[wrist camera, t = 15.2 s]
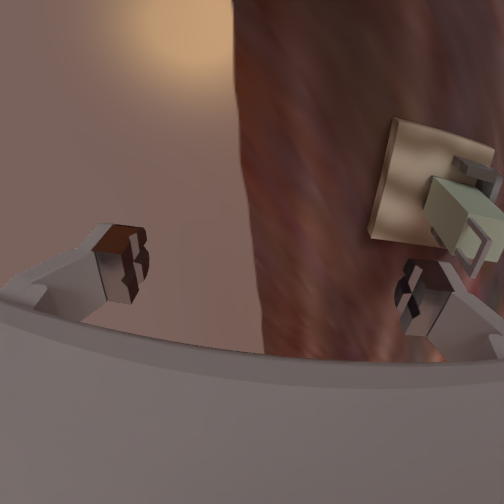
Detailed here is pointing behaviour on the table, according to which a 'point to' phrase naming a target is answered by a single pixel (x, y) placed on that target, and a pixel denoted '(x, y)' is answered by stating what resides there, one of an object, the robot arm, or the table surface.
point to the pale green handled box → (465, 222)
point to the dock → (425, 179)
